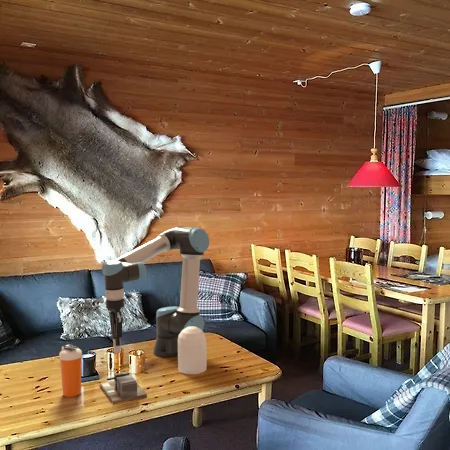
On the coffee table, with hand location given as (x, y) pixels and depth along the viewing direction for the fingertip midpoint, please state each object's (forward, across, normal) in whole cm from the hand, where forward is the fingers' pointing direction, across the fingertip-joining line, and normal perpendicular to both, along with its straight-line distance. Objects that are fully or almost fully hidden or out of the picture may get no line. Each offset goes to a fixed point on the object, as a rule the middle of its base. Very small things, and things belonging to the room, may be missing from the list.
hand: (117, 352), depth 217 cm
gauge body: (+14, +8, -1) cm, 16 cm away
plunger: (+12, +12, -3) cm, 17 cm away
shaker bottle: (+14, 0, -20) cm, 24 cm away
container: (+15, 0, +35) cm, 38 cm away
